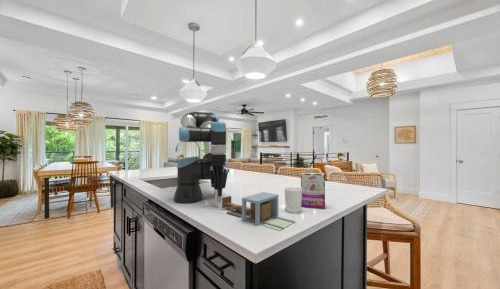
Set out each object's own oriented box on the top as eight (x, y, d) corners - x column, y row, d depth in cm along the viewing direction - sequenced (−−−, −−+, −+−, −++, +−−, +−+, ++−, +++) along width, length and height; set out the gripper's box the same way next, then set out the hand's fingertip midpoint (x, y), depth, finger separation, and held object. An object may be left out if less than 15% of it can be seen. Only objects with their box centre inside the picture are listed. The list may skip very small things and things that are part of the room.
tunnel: (222, 214, 93) (223, 193, 93) (244, 207, 103) (244, 188, 103) (278, 231, 75) (278, 205, 75) (297, 221, 85) (297, 198, 85)
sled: (221, 209, 99) (221, 195, 99) (230, 206, 104) (230, 193, 104) (262, 220, 84) (262, 205, 84) (270, 216, 89) (270, 202, 89)
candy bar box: (324, 206, 106) (324, 172, 106) (325, 209, 101) (325, 174, 101) (301, 204, 109) (301, 171, 109) (300, 207, 105) (300, 173, 105)
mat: (262, 225, 80) (262, 224, 80) (280, 217, 89) (280, 216, 89) (279, 231, 75) (279, 230, 75) (296, 221, 84) (296, 221, 84)
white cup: (282, 211, 97) (282, 189, 97) (287, 207, 104) (287, 186, 104) (299, 214, 93) (299, 191, 93) (304, 209, 100) (304, 188, 100)
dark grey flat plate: (226, 213, 94) (226, 213, 94) (241, 208, 102) (241, 208, 102) (239, 217, 89) (239, 217, 89) (255, 211, 97) (255, 211, 97)
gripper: (203, 153, 106) (203, 201, 106) (221, 154, 98) (221, 206, 98) (215, 153, 112) (215, 198, 112) (233, 154, 104) (233, 203, 104)
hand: (218, 202), depth 105 cm, fingers closed
